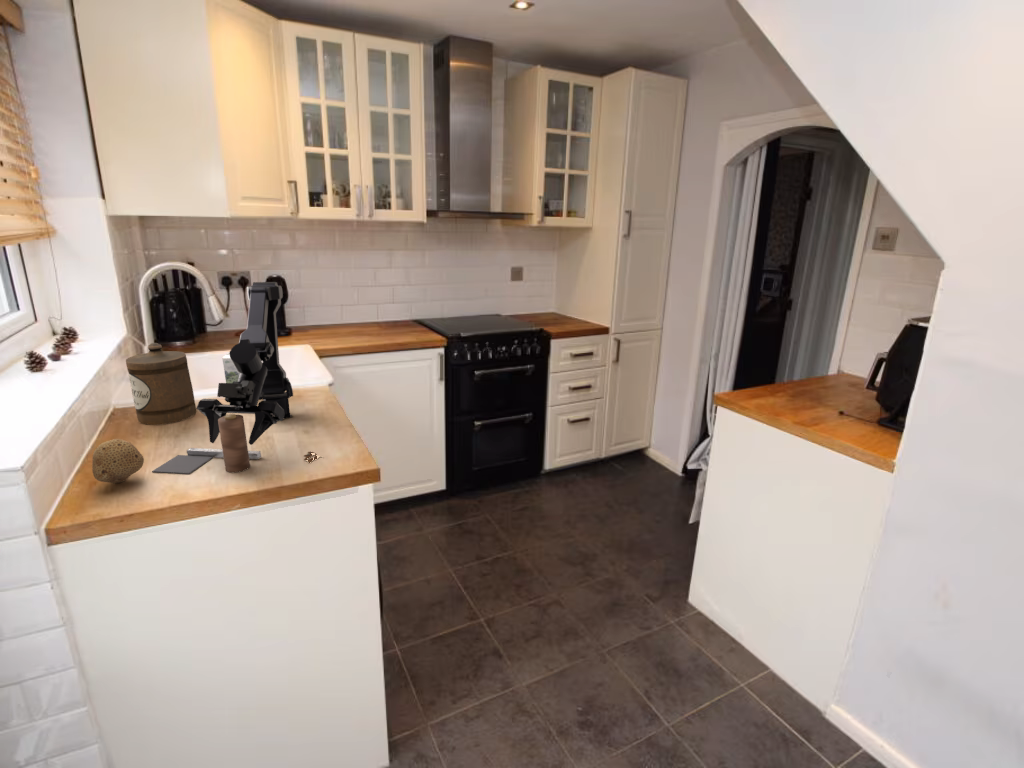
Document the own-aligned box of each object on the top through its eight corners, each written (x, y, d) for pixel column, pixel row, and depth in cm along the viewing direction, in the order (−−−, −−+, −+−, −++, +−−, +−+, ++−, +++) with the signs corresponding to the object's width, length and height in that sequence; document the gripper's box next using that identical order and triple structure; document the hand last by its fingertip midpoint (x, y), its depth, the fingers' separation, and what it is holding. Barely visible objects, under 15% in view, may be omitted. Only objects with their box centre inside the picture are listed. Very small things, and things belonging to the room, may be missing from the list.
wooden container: (136, 414, 160) (121, 341, 154) (192, 404, 169) (181, 336, 162) (139, 429, 149) (123, 352, 142) (200, 418, 157) (188, 345, 151)
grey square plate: (213, 457, 132) (213, 456, 132) (189, 474, 123) (189, 473, 123) (178, 456, 132) (178, 454, 132) (152, 472, 124) (152, 471, 124)
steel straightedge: (261, 456, 133) (260, 451, 132) (257, 459, 131) (257, 453, 131) (191, 453, 134) (190, 447, 134) (187, 456, 133) (186, 450, 132)
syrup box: (252, 394, 179) (247, 352, 174) (246, 400, 173) (240, 357, 169) (234, 395, 178) (228, 352, 174) (227, 401, 172) (221, 357, 168)
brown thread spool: (247, 460, 130) (240, 410, 127) (252, 468, 126) (245, 416, 123) (223, 466, 127) (215, 415, 124) (228, 474, 123) (219, 421, 120)
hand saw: (258, 440, 144) (258, 438, 143) (275, 435, 147) (275, 433, 147) (308, 465, 129) (308, 463, 129) (325, 459, 133) (325, 457, 132)
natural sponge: (154, 471, 124) (146, 431, 121) (134, 490, 116) (125, 447, 113) (111, 473, 123) (102, 433, 120) (88, 492, 114) (77, 449, 112)
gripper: (194, 366, 124) (171, 427, 117) (273, 368, 123) (254, 430, 116) (219, 388, 134) (199, 446, 127) (292, 390, 133) (276, 449, 126)
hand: (230, 443), depth 124 cm, fingers open, 9 cm apart
